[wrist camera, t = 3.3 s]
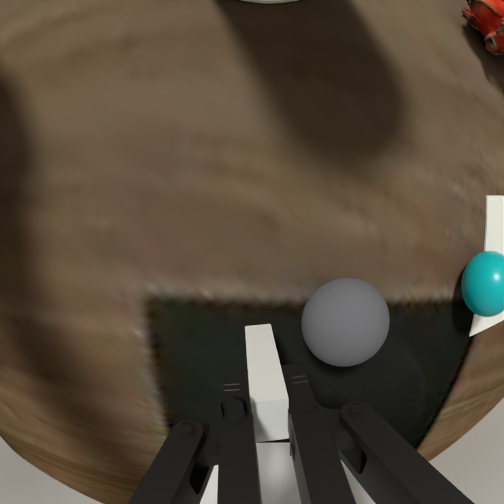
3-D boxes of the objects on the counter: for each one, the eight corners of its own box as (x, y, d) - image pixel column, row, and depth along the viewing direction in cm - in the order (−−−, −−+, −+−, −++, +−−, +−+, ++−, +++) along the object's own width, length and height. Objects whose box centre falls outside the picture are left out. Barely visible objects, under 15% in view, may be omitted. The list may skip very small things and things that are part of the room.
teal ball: (452, 247, 19) (499, 266, 13) (488, 241, 19) (530, 255, 13) (445, 308, 20) (484, 336, 15) (481, 296, 20) (518, 317, 15)
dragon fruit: (509, 73, 16) (435, 25, 17) (521, 24, 10) (445, -30, 10) (549, 97, 10) (473, 32, 11) (564, 38, 4) (484, -36, 5)
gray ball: (291, 272, 18) (313, 307, 13) (367, 261, 18) (411, 289, 13) (295, 344, 19) (313, 393, 14) (364, 330, 20) (398, 371, 14)
